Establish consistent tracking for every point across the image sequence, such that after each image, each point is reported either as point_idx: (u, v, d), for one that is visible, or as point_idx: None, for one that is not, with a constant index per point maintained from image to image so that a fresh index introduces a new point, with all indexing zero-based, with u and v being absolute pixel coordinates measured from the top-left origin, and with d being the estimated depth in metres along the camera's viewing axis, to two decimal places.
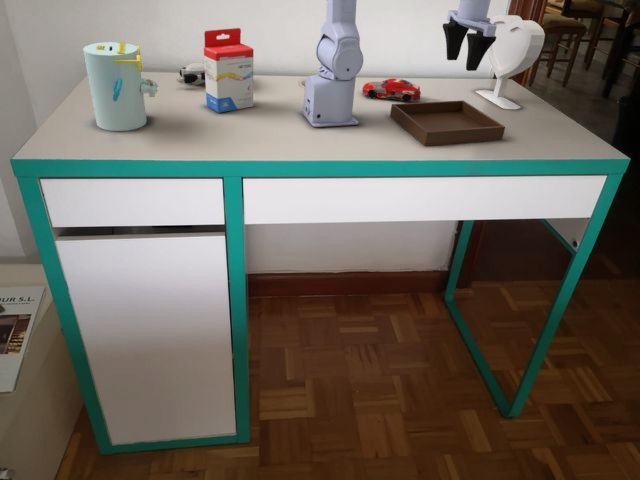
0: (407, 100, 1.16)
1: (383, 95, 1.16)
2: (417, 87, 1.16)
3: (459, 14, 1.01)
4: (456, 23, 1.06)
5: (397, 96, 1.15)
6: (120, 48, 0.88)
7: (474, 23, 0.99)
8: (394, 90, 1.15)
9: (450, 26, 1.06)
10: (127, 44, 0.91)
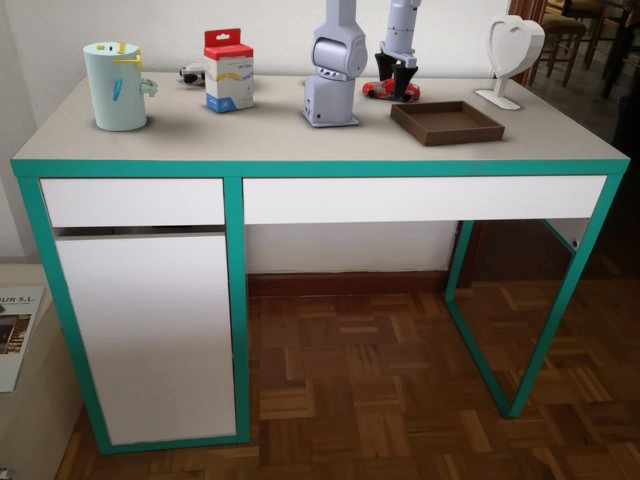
0: (407, 100, 1.16)
1: (383, 95, 1.16)
2: (417, 87, 1.16)
3: (386, 46, 1.11)
4: (386, 53, 1.16)
5: None
6: (120, 48, 0.88)
7: (398, 55, 1.09)
8: (393, 90, 1.15)
9: (381, 56, 1.16)
10: (127, 44, 0.91)
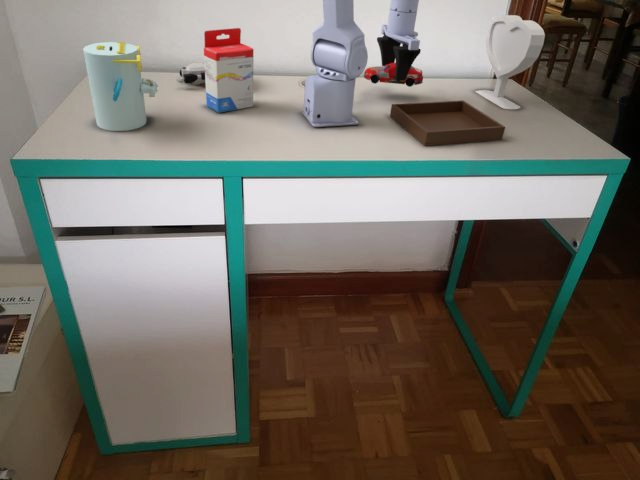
0: (410, 84, 1.14)
1: (386, 80, 1.14)
2: (419, 71, 1.14)
3: (388, 29, 1.09)
4: (389, 37, 1.14)
5: None
6: (120, 48, 0.88)
7: (400, 37, 1.07)
8: None
9: (383, 40, 1.14)
10: (127, 44, 0.91)
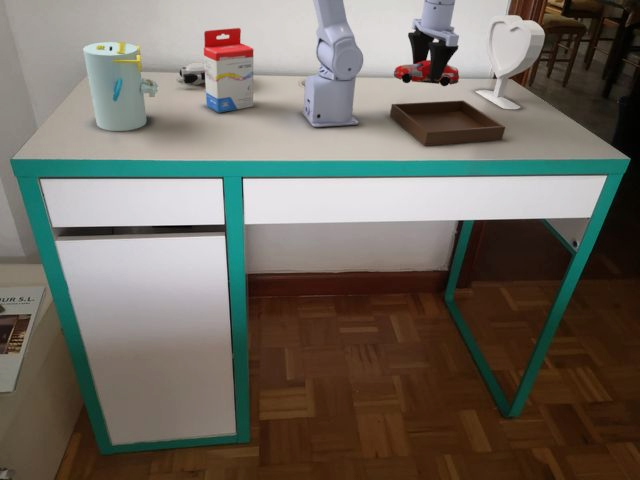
0: (445, 84, 1.04)
1: (419, 79, 1.04)
2: (455, 69, 1.05)
3: (422, 23, 1.00)
4: (421, 32, 1.04)
5: None
6: (120, 48, 0.88)
7: (437, 32, 0.97)
8: None
9: (415, 35, 1.04)
10: (127, 44, 0.91)
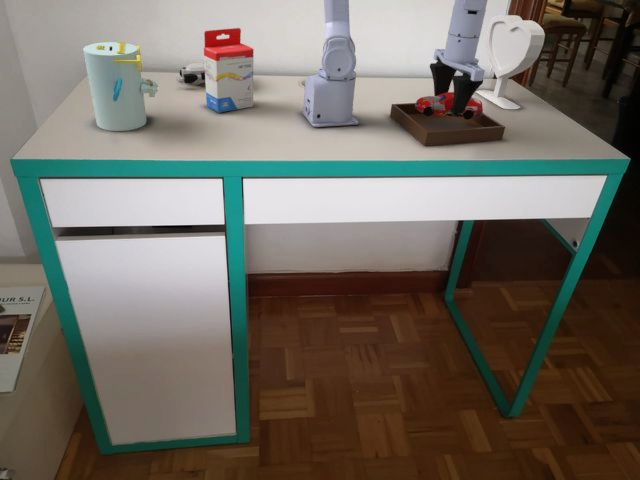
0: (469, 117, 1.01)
1: (441, 112, 1.00)
2: (479, 101, 1.01)
3: (445, 56, 0.96)
4: (444, 64, 1.01)
5: (457, 113, 1.00)
6: (120, 48, 0.88)
7: (461, 66, 0.93)
8: None
9: (437, 67, 1.00)
10: (127, 44, 0.91)
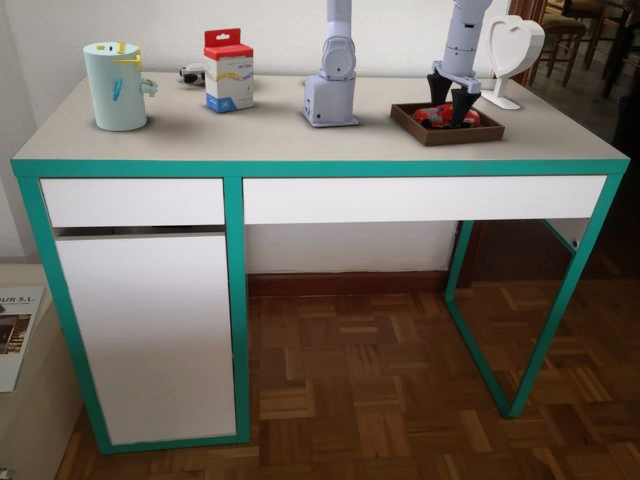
0: None
1: (439, 124, 1.02)
2: (476, 113, 1.02)
3: (443, 68, 0.97)
4: (441, 75, 1.02)
5: None
6: (120, 48, 0.88)
7: (458, 79, 0.95)
8: None
9: (434, 78, 1.02)
10: (127, 44, 0.91)
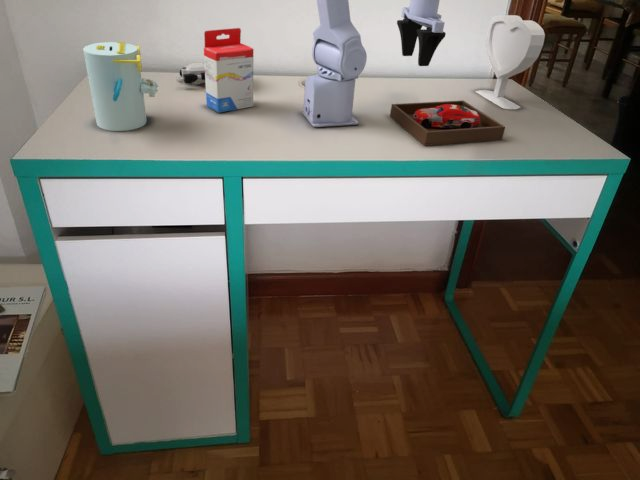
0: None
1: (439, 124, 1.02)
2: (476, 113, 1.02)
3: (410, 11, 1.04)
4: (409, 20, 1.09)
5: (454, 125, 1.02)
6: (120, 48, 0.88)
7: (423, 19, 1.02)
8: (451, 118, 1.01)
9: (404, 23, 1.09)
10: (127, 44, 0.91)
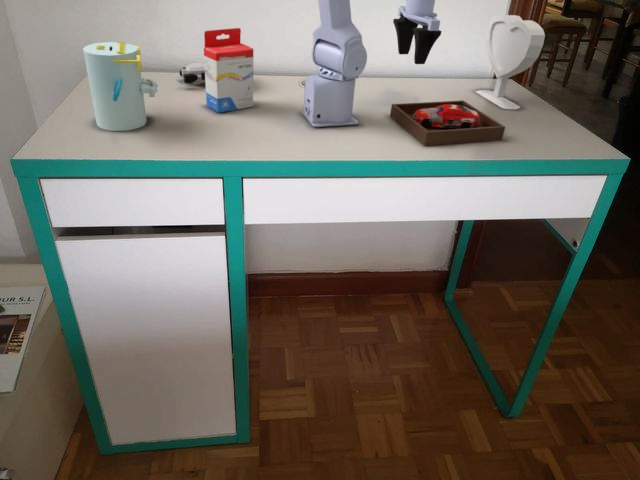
0: None
1: (439, 124, 1.02)
2: (476, 113, 1.02)
3: (406, 9, 1.05)
4: (406, 18, 1.10)
5: (454, 125, 1.02)
6: (120, 48, 0.88)
7: (419, 18, 1.03)
8: (451, 118, 1.01)
9: (400, 21, 1.10)
10: (127, 44, 0.91)
